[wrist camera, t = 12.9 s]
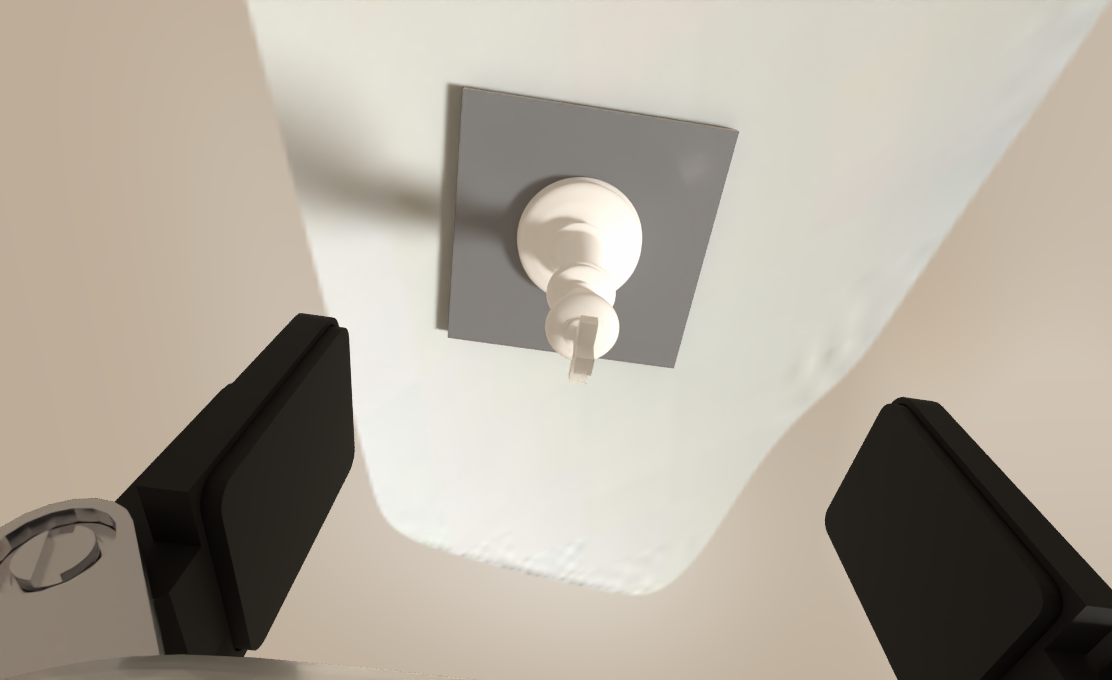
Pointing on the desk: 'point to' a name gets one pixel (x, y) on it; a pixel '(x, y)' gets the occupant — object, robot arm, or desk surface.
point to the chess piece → (580, 263)
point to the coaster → (595, 152)
